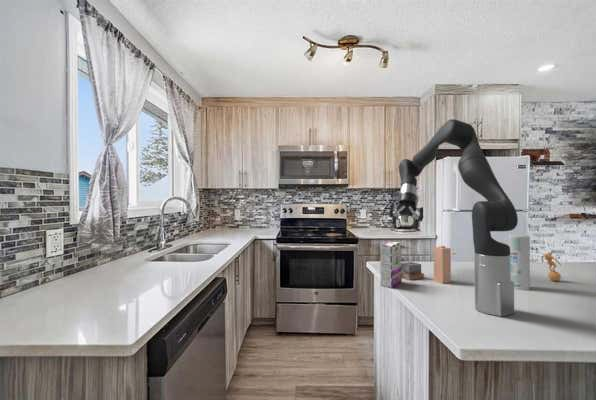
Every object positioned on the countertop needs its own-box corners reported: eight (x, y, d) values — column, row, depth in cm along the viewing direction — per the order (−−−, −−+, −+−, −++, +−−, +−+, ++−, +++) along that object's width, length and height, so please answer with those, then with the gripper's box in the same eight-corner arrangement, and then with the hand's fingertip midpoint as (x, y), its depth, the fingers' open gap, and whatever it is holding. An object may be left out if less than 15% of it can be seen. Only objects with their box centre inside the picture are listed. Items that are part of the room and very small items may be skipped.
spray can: (534, 289, 114) (534, 236, 114) (517, 290, 114) (516, 236, 114) (521, 285, 121) (521, 234, 121) (505, 285, 121) (504, 234, 121)
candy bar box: (390, 280, 129) (389, 241, 129) (401, 282, 126) (401, 242, 126) (379, 286, 120) (379, 244, 120) (392, 288, 117) (391, 245, 117)
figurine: (568, 283, 123) (568, 253, 123) (555, 284, 122) (554, 253, 122) (549, 278, 131) (549, 250, 131) (536, 278, 130) (536, 250, 130)
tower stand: (424, 278, 132) (423, 264, 132) (409, 280, 129) (409, 266, 129) (410, 274, 140) (410, 261, 140) (396, 276, 137) (396, 262, 137)
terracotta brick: (450, 282, 125) (450, 246, 126) (442, 283, 124) (442, 246, 124) (442, 279, 130) (441, 244, 130) (433, 280, 128) (433, 245, 128)
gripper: (392, 189, 140) (388, 220, 132) (425, 193, 136) (423, 225, 128) (391, 198, 146) (387, 228, 139) (422, 202, 143) (420, 233, 135)
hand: (404, 226), depth 133 cm, fingers open, 8 cm apart
